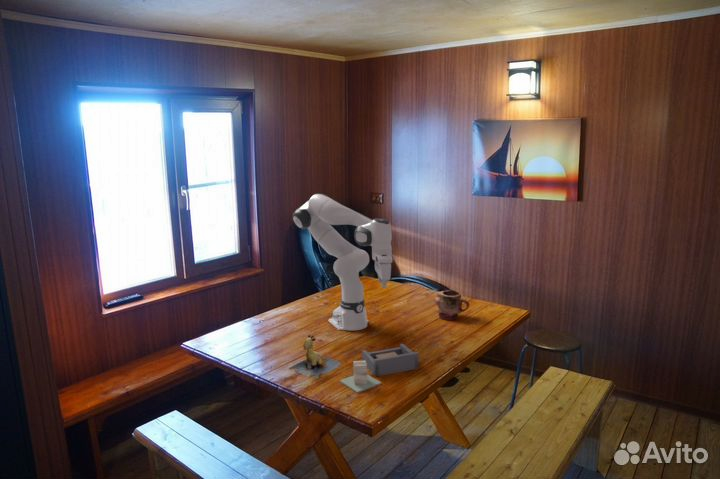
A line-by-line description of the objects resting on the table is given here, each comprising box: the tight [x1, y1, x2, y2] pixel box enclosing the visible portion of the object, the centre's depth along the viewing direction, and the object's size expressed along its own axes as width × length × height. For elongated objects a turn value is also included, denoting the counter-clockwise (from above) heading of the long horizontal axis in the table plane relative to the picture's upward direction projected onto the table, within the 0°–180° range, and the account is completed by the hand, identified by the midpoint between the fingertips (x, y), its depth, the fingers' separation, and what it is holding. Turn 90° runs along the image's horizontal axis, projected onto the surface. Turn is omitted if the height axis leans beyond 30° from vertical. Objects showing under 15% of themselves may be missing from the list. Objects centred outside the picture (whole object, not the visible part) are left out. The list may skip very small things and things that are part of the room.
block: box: [352, 360, 368, 385], centre depth 212 cm, size 4×5×8 cm
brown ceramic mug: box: [433, 289, 470, 321], centre depth 281 cm, size 20×12×14 cm, turn 60°
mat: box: [339, 373, 382, 394], centre depth 213 cm, size 12×12×1 cm
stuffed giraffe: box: [288, 333, 342, 380], centre depth 227 cm, size 16×18×16 cm
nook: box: [361, 343, 419, 378], centre depth 228 cm, size 16×20×7 cm
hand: (382, 284), depth 238 cm, fingers open, 8 cm apart
